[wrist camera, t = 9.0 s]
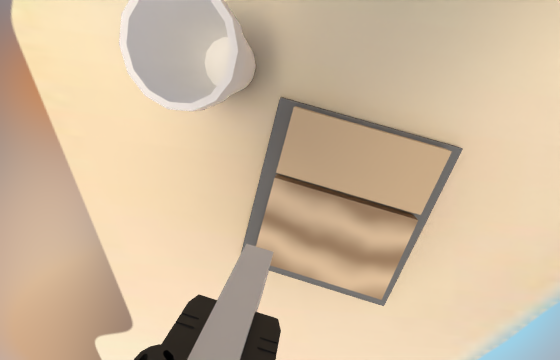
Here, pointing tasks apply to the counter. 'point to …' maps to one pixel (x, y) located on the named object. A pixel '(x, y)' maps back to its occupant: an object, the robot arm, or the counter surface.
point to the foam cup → (185, 52)
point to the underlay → (353, 169)
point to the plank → (334, 236)
